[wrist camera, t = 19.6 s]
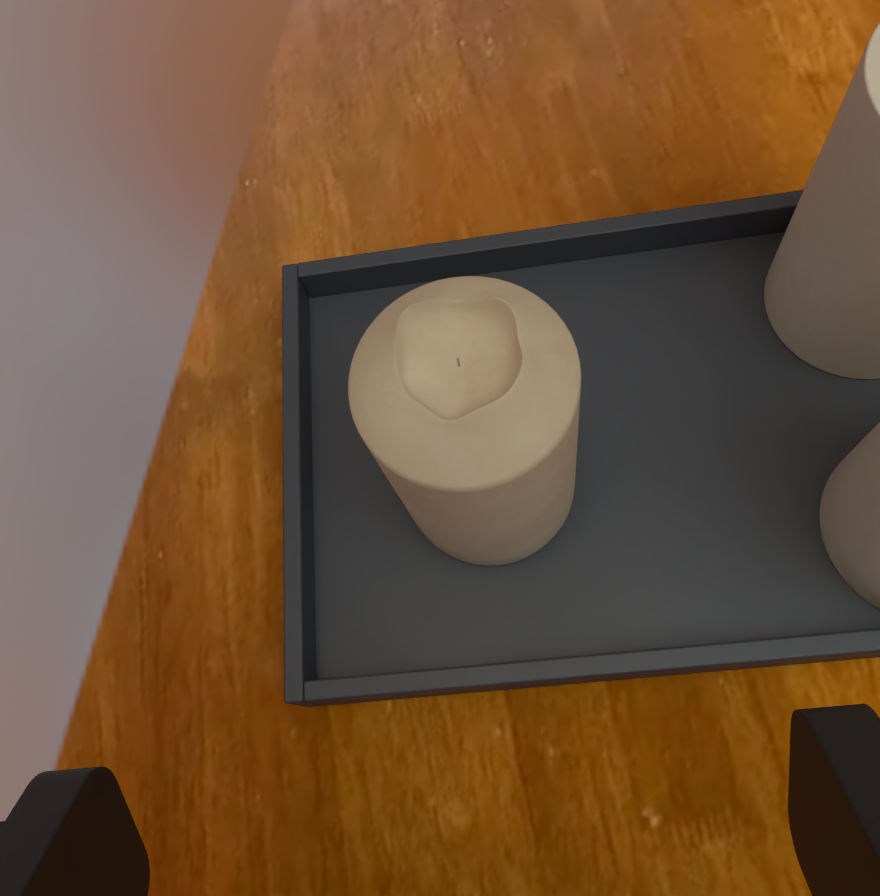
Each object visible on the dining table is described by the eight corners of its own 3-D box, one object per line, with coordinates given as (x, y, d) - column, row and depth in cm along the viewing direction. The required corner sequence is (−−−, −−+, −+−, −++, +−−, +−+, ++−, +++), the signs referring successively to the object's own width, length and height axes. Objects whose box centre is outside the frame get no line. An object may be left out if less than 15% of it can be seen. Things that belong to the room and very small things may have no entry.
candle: (375, 485, 28) (282, 351, 18) (493, 379, 28) (461, 199, 19) (487, 603, 26) (446, 521, 16) (610, 487, 26) (637, 345, 17)
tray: (306, 707, 26) (283, 703, 24) (300, 297, 32) (281, 264, 29) (1150, 633, 24) (1209, 621, 21) (986, 201, 29) (1020, 157, 27)
